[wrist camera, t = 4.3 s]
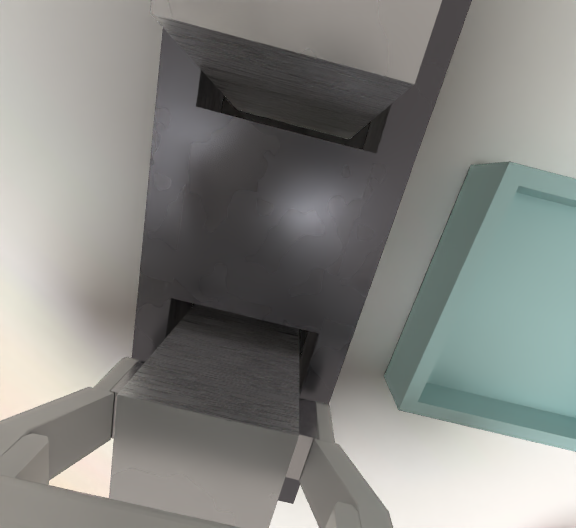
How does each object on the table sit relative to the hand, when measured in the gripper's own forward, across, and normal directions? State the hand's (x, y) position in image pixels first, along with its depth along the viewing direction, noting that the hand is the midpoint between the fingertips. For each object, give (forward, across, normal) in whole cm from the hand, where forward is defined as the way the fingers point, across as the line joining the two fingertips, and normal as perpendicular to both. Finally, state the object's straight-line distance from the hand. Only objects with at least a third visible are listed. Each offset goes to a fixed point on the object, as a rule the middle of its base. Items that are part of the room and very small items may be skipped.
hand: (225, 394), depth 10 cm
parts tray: (+3, -12, -5) cm, 13 cm away
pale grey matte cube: (+3, 0, 0) cm, 3 cm away
